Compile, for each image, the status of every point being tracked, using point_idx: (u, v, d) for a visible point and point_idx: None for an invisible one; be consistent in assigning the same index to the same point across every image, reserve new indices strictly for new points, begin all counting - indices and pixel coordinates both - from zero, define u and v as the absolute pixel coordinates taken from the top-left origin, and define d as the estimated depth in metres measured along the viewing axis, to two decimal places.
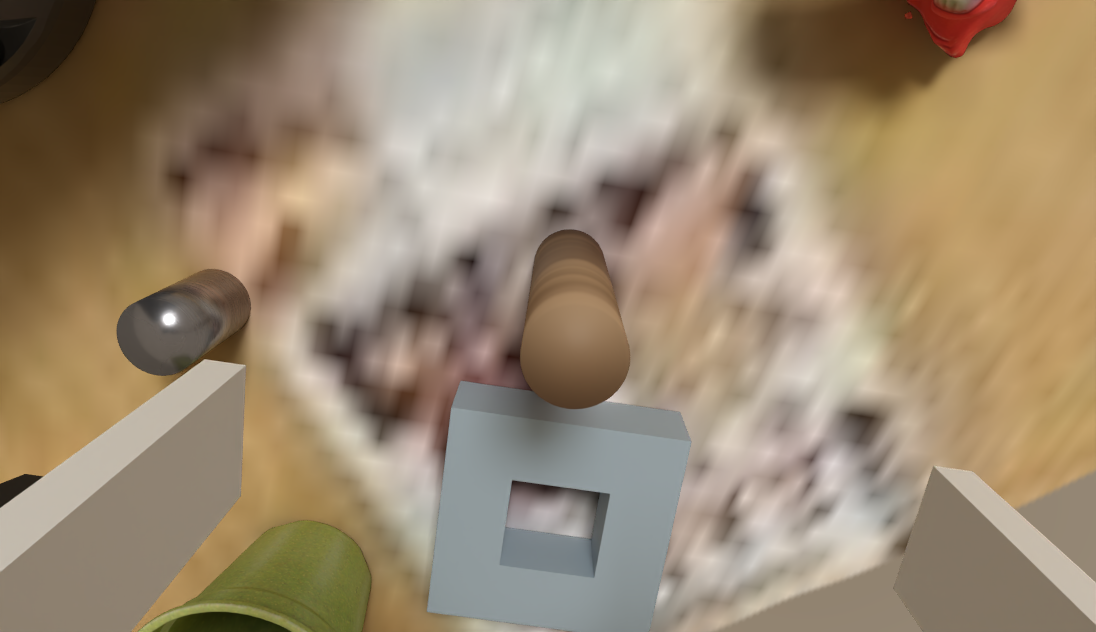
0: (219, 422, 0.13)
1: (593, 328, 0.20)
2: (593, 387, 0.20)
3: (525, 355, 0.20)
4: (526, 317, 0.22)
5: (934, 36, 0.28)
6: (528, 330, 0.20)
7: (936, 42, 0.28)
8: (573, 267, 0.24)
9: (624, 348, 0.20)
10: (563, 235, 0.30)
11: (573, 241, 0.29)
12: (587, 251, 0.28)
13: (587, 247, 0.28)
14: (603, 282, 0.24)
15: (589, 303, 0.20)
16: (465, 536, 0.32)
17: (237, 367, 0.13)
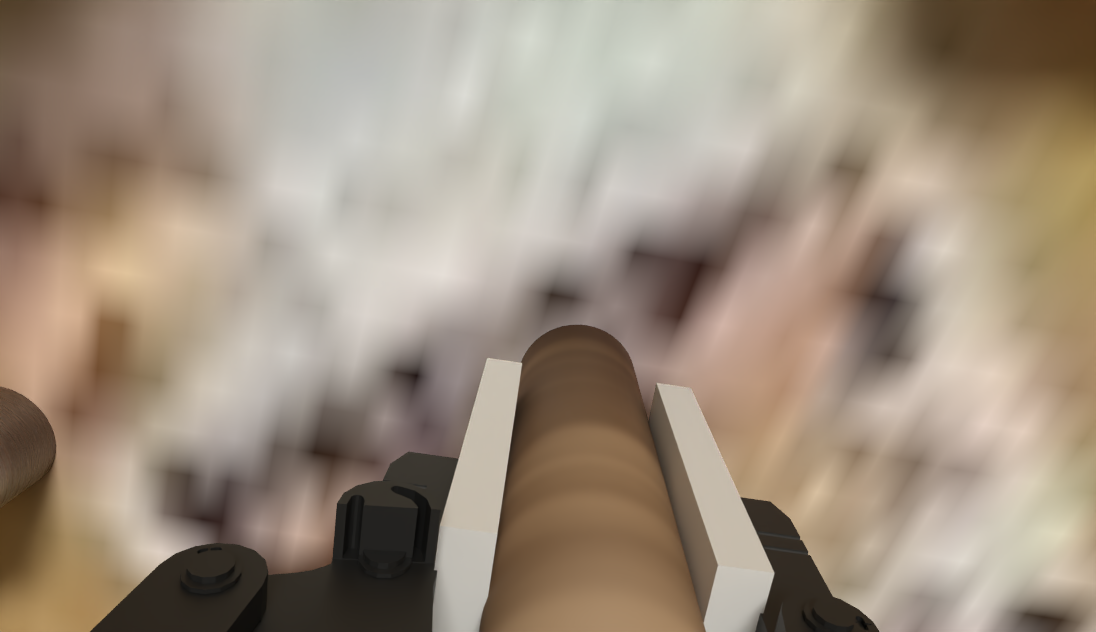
0: None
1: None
2: None
3: None
4: (483, 612, 0.10)
5: None
6: None
7: None
8: (589, 461, 0.12)
9: None
10: (567, 341, 0.17)
11: (585, 361, 0.16)
12: (612, 389, 0.15)
13: (610, 375, 0.16)
14: (653, 499, 0.11)
15: None
16: None
17: (518, 365, 0.16)
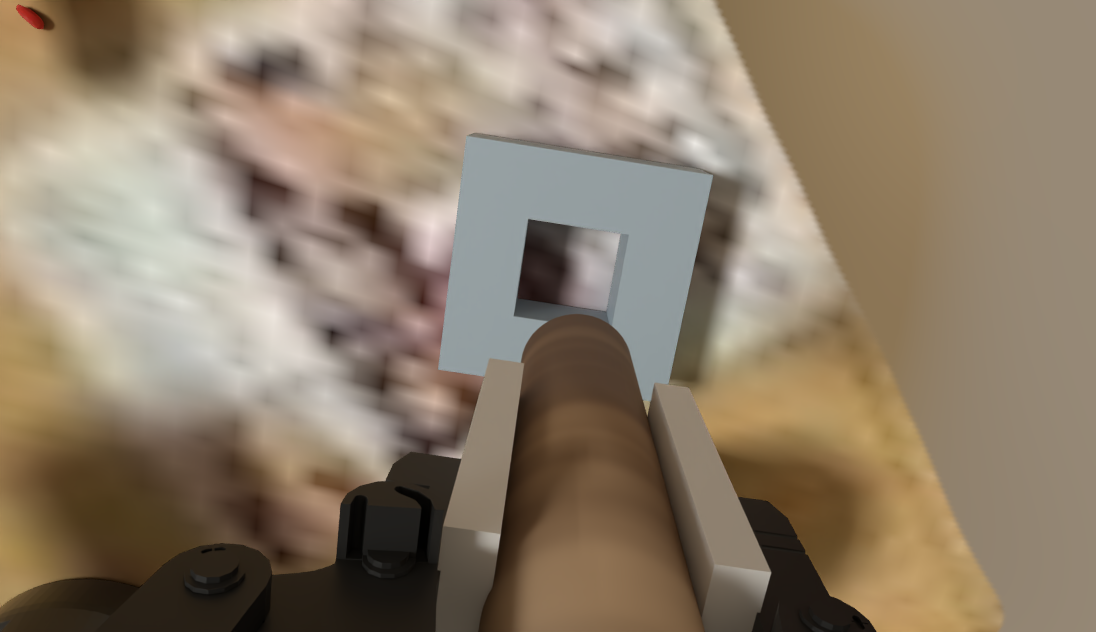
0: None
1: None
2: None
3: None
4: None
5: None
6: None
7: None
8: (587, 433, 0.13)
9: None
10: (567, 329, 0.18)
11: (584, 347, 0.17)
12: (609, 372, 0.16)
13: (608, 360, 0.17)
14: (646, 468, 0.12)
15: (630, 598, 0.09)
16: None
17: (520, 365, 0.16)
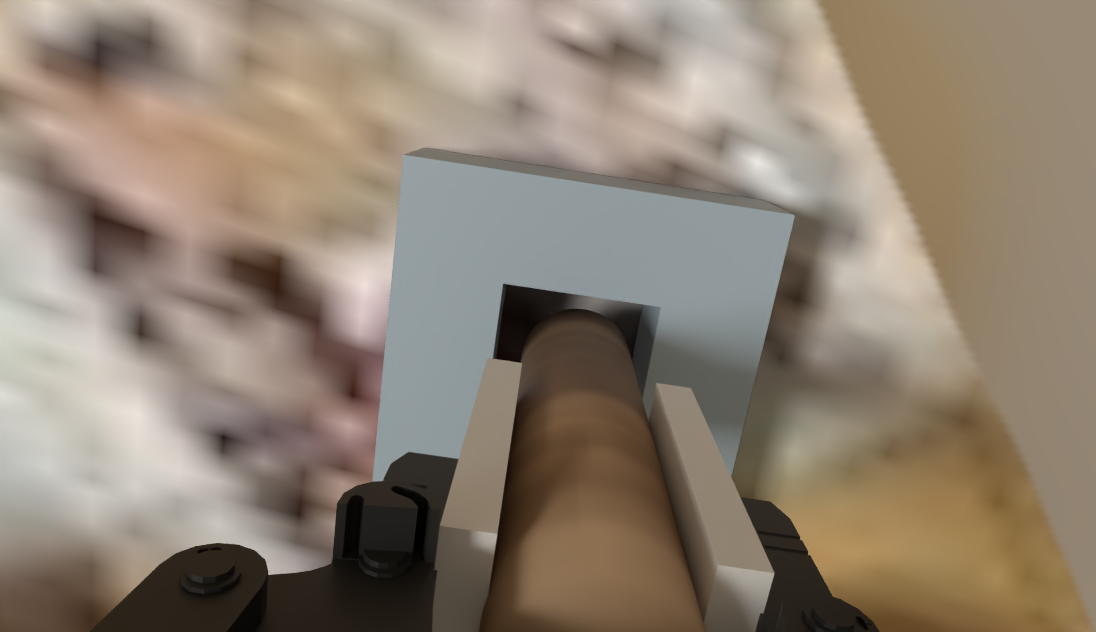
0: None
1: None
2: None
3: None
4: None
5: None
6: None
7: None
8: (586, 421, 0.13)
9: None
10: (566, 323, 0.19)
11: (583, 340, 0.17)
12: (607, 364, 0.16)
13: (606, 352, 0.17)
14: (643, 454, 0.13)
15: (628, 571, 0.09)
16: None
17: (517, 365, 0.16)
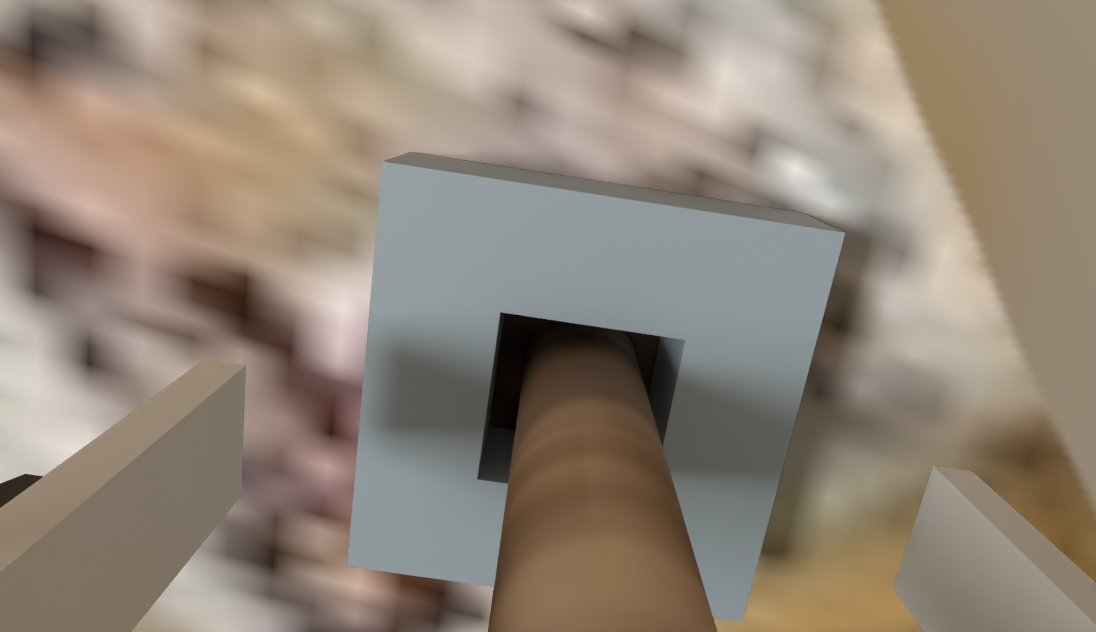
0: (219, 422, 0.13)
1: None
2: None
3: None
4: (499, 561, 0.11)
5: None
6: None
7: None
8: (594, 429, 0.13)
9: None
10: (571, 326, 0.18)
11: (589, 343, 0.17)
12: (614, 369, 0.16)
13: (613, 356, 0.17)
14: (653, 464, 0.12)
15: (642, 592, 0.09)
16: None
17: (237, 367, 0.13)
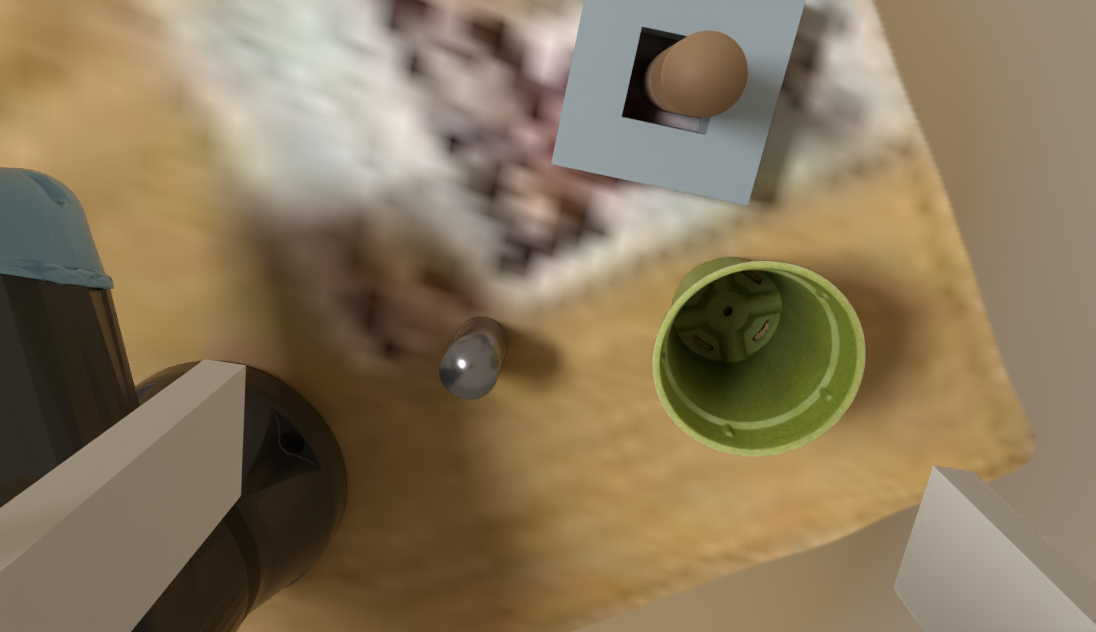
0: (219, 422, 0.13)
1: (722, 50, 0.27)
2: (717, 99, 0.27)
3: (668, 70, 0.27)
4: (661, 61, 0.29)
5: None
6: (672, 50, 0.27)
7: None
8: None
9: (744, 68, 0.27)
10: None
11: None
12: None
13: None
14: None
15: (719, 33, 0.27)
16: (673, 163, 0.37)
17: (237, 368, 0.13)
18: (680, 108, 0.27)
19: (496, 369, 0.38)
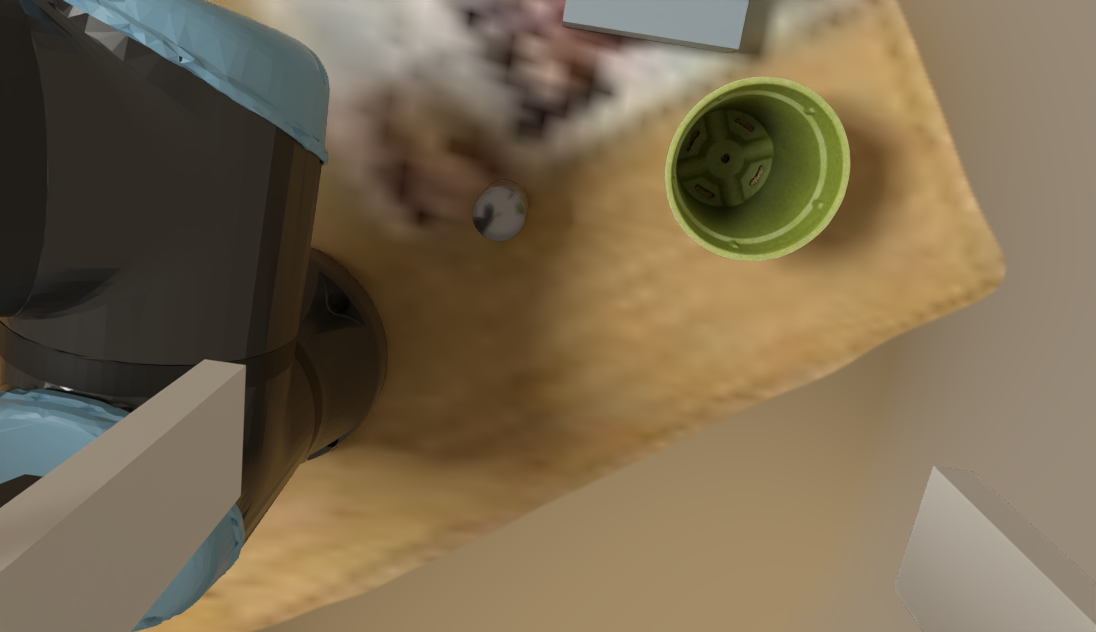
0: (219, 422, 0.13)
1: None
2: None
3: None
4: None
5: None
6: None
7: None
8: None
9: None
10: None
11: None
12: None
13: None
14: None
15: None
16: (671, 13, 0.41)
17: (237, 367, 0.13)
18: None
19: (523, 211, 0.43)
